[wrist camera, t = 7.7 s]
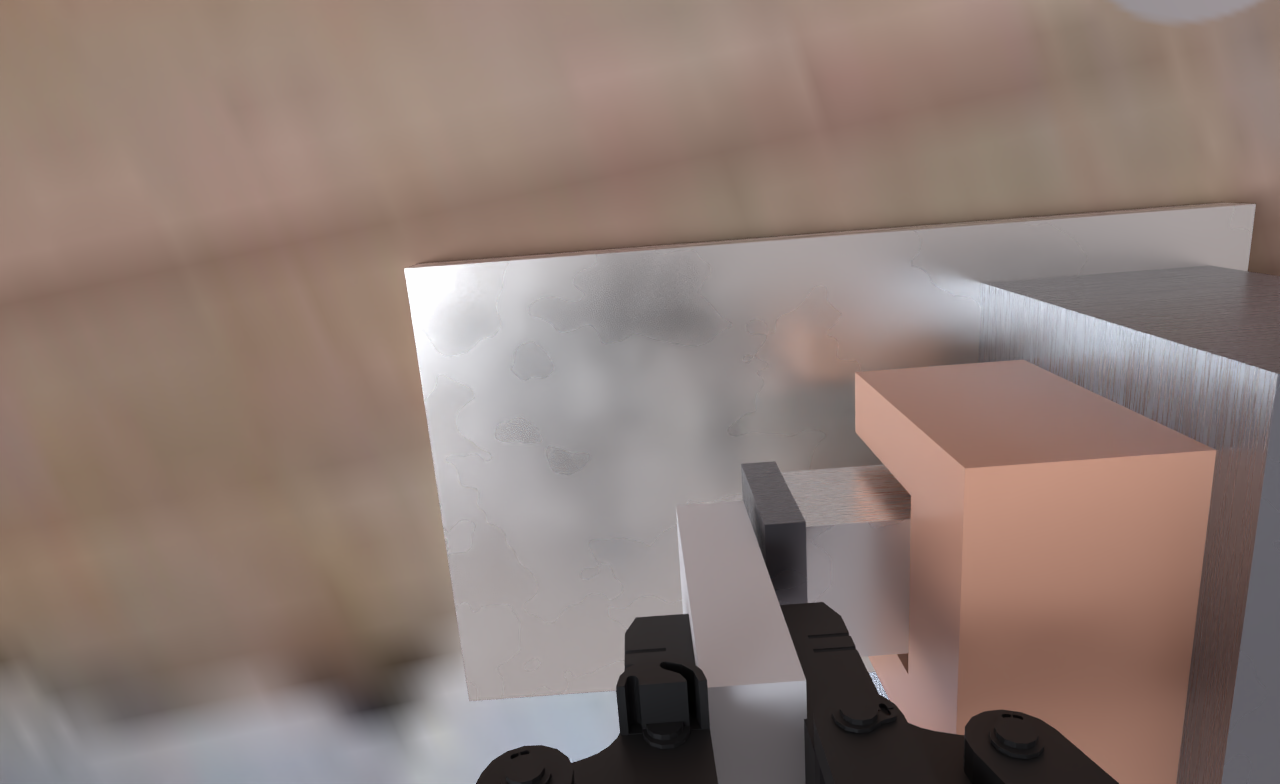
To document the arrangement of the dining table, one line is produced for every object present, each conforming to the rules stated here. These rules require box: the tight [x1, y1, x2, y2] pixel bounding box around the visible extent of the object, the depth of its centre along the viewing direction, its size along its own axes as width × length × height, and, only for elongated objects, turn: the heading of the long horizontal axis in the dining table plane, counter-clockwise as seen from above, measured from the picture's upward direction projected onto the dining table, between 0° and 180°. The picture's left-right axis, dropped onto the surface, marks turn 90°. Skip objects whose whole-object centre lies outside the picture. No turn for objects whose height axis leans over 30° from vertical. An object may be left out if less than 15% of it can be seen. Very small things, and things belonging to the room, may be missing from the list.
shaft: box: [741, 461, 911, 657], centre depth 18 cm, size 17×3×3 cm, turn 94°
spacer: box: [855, 360, 1216, 784], centre depth 17 cm, size 4×7×6 cm, turn 4°
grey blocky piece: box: [405, 202, 1280, 784], centre depth 18 cm, size 22×13×11 cm, turn 94°
